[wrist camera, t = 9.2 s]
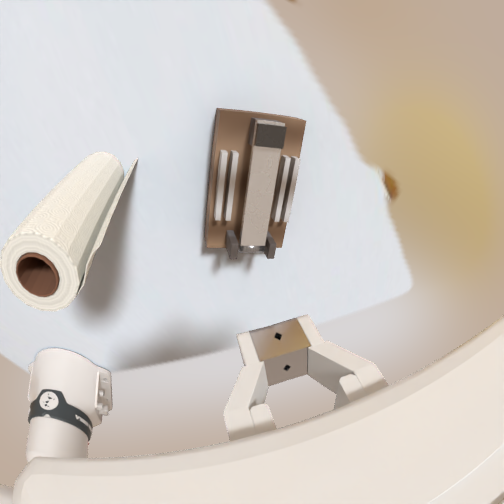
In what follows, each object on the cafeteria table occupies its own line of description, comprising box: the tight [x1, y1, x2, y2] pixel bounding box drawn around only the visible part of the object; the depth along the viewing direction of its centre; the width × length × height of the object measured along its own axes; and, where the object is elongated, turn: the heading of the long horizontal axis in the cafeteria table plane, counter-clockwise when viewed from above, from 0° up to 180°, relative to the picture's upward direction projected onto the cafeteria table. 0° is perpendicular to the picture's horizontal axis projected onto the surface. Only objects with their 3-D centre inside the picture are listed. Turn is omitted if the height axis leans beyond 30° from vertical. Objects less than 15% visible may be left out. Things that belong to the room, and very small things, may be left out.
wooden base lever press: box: [205, 108, 306, 259], centre depth 35 cm, size 17×10×6 cm, turn 172°
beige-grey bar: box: [238, 119, 287, 252], centre depth 33 cm, size 16×3×2 cm, turn 172°
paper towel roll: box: [0, 152, 138, 311], centre depth 24 cm, size 7×6×21 cm
